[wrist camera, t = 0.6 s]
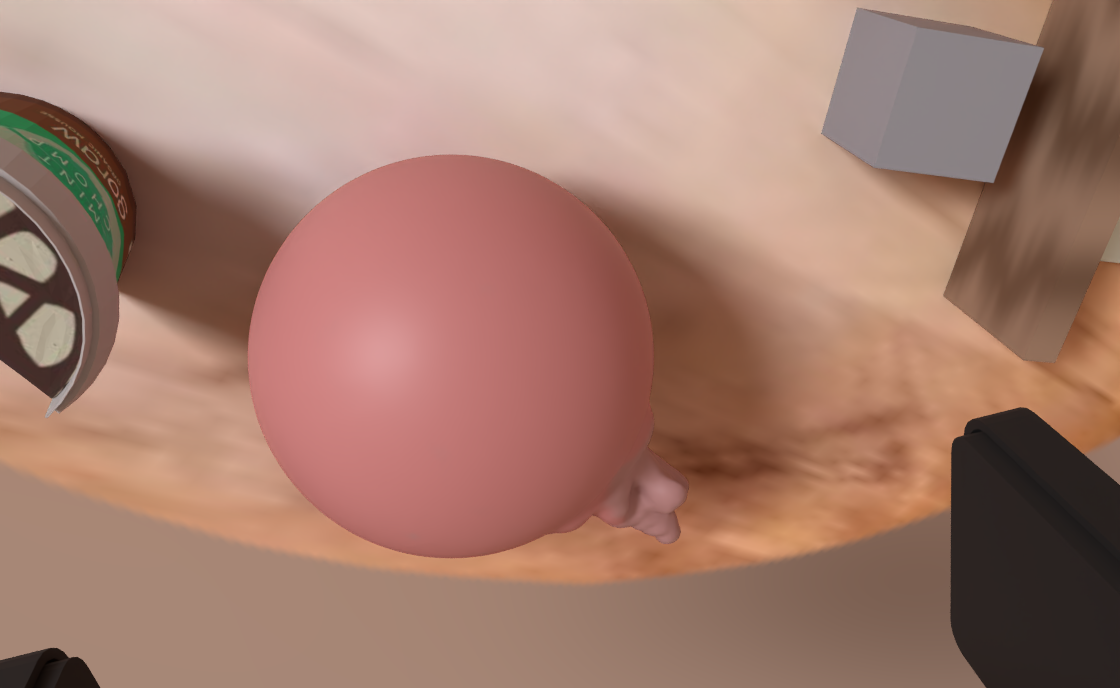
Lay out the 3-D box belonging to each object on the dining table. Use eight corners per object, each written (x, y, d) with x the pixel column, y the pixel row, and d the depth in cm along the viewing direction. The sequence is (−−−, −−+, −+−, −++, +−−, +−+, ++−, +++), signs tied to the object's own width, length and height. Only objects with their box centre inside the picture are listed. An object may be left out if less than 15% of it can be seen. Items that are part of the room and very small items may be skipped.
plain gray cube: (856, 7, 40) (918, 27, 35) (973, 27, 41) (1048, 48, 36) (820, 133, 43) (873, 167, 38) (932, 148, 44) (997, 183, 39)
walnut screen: (1105, -141, 39) (1237, -143, 33) (1138, -135, 39) (1275, -134, 33) (943, 295, 47) (1023, 360, 41) (971, 298, 48) (1054, 362, 42)
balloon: (515, 520, 50) (555, 763, 36) (202, 285, 42) (103, 488, 28) (734, 331, 47) (867, 522, 33) (442, 33, 38) (461, 127, 25)
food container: (232, 223, 40) (183, 323, 32) (133, 308, 42) (59, 428, 33) (-18, -13, 35) (-160, 29, 26) (-124, 93, 36) (-295, 167, 27)
